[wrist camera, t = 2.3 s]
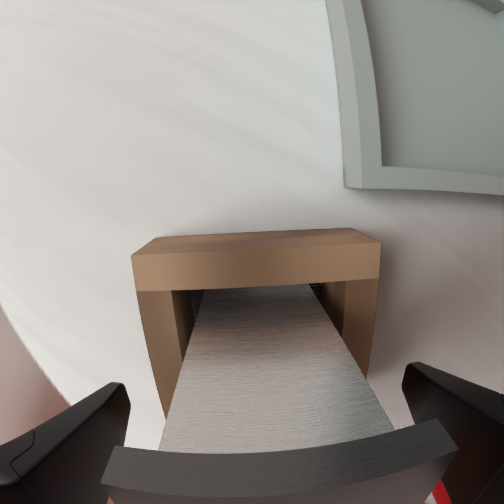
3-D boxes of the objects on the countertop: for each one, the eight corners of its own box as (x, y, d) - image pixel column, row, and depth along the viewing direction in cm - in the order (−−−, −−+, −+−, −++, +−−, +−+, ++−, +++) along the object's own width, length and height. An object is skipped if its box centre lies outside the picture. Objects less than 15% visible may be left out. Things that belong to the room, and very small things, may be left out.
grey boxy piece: (315, 265, 13) (459, 448, 3) (312, 365, 14) (378, 555, 4) (194, 271, 12) (99, 482, 3) (207, 371, 14) (179, 573, 4)
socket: (350, 228, 12) (380, 242, 9) (339, 385, 14) (356, 424, 11) (155, 237, 12) (130, 255, 9) (181, 395, 14) (171, 436, 11)
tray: (495, 10, 9) (513, 2, 7) (526, 196, 12) (549, 200, 10) (315, -49, 9) (323, -71, 7) (343, 186, 12) (361, 188, 10)
